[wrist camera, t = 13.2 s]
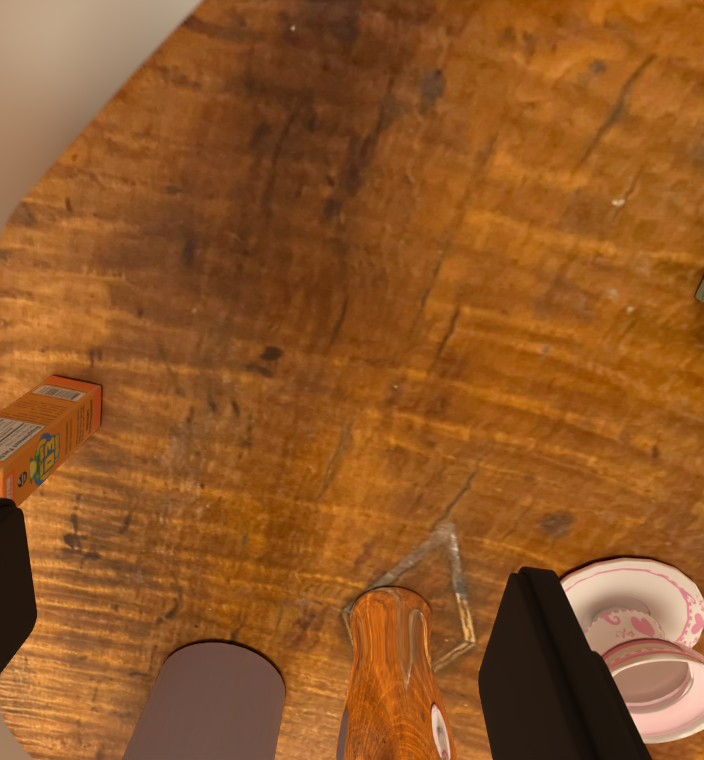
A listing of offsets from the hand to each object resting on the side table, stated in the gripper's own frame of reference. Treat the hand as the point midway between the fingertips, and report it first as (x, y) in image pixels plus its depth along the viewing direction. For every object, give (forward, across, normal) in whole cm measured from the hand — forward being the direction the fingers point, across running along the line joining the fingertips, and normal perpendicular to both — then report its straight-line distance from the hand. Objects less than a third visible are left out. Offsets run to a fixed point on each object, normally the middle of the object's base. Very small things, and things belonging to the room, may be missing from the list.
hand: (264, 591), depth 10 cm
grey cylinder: (+22, +6, +32) cm, 39 cm away
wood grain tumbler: (+21, -7, +22) cm, 32 cm away
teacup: (+21, -23, +20) cm, 37 cm away
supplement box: (+21, +16, +8) cm, 27 cm away
